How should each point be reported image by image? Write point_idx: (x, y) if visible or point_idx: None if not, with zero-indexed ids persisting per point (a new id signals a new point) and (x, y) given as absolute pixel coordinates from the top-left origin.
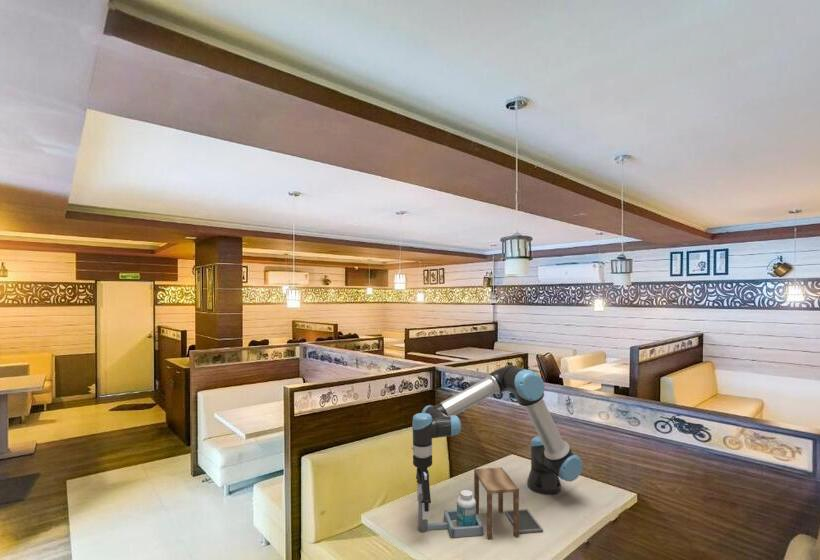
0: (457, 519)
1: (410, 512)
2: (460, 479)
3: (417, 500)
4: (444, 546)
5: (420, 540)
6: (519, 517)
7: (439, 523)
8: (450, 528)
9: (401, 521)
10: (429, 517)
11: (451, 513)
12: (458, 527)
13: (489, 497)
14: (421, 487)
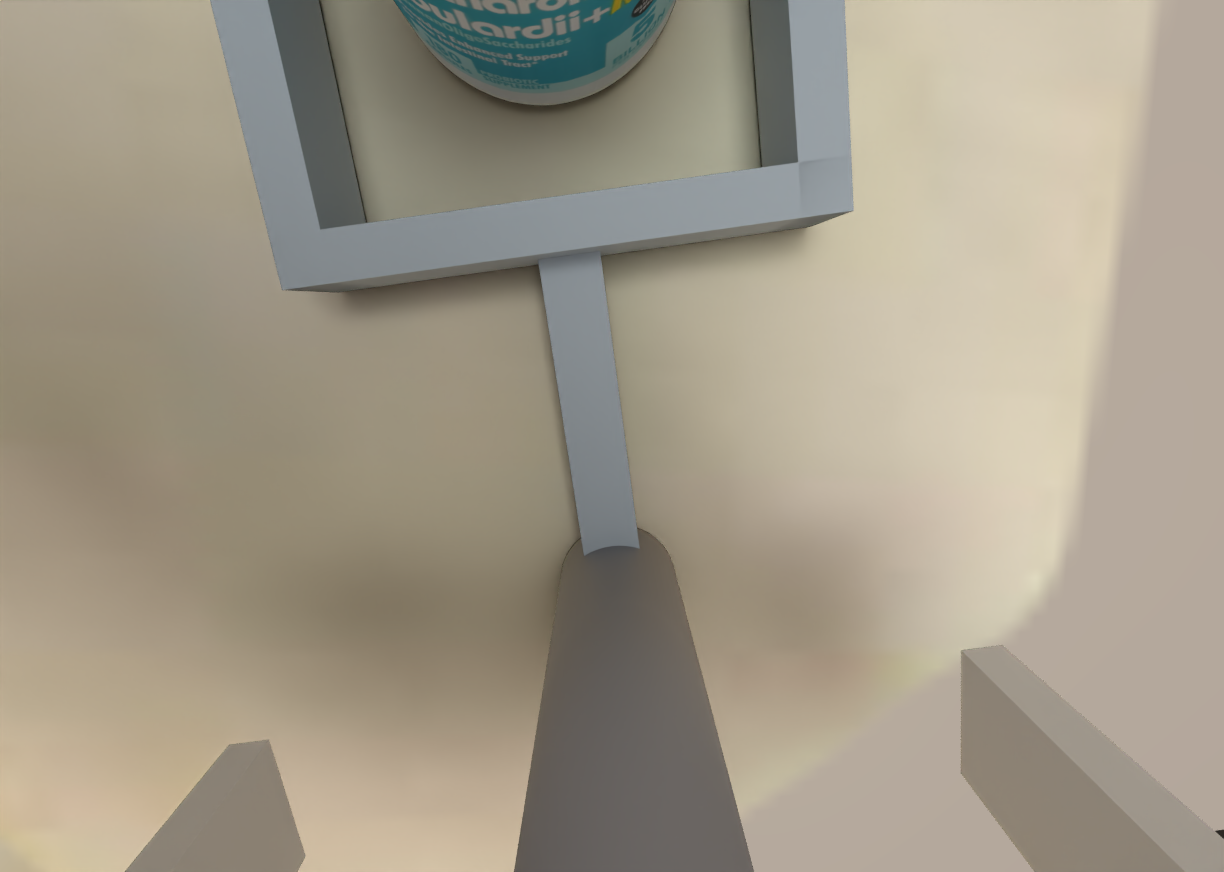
0: (567, 62)
1: (247, 713)
2: None
3: (296, 859)
4: (968, 335)
5: (826, 605)
6: None
7: (575, 380)
8: (776, 223)
9: (454, 801)
10: (1021, 672)
11: (319, 160)
12: (805, 74)
13: None
14: None
